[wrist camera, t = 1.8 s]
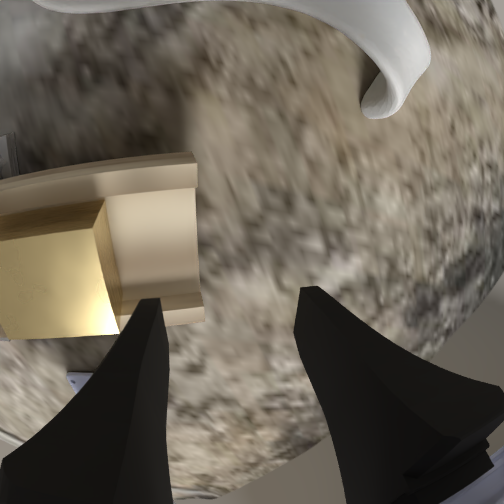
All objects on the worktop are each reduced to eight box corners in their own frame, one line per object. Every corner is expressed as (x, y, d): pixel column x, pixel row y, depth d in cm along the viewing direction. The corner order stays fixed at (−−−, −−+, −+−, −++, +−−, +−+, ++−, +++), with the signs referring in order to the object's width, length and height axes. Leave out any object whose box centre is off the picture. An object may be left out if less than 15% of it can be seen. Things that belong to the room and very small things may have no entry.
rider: (123, 292, 15) (119, 333, 12) (24, 301, 13) (8, 339, 11) (105, 199, 12) (92, 228, 10) (-4, 217, 11) (-32, 246, 8)
